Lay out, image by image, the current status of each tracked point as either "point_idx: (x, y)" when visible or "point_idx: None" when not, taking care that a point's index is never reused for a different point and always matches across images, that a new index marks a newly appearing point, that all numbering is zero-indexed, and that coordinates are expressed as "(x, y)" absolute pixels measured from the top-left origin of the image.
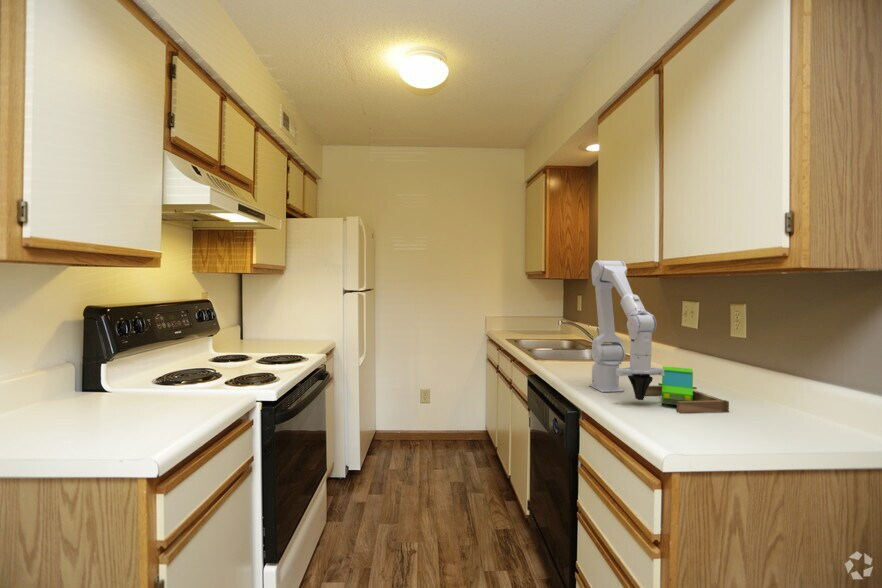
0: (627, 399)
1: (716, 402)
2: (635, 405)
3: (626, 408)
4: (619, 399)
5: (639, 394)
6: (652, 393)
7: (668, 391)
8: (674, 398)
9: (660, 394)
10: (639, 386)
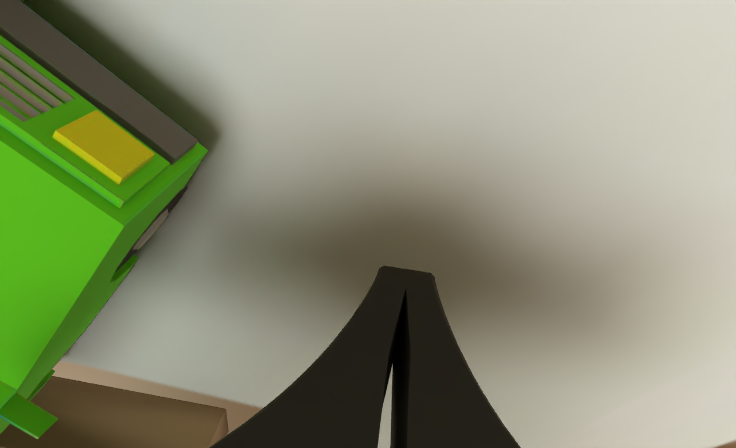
0: None
1: None
2: (488, 239)
3: (711, 174)
4: None
5: (445, 316)
6: (121, 408)
7: (23, 190)
8: (23, 68)
9: (60, 387)
10: (475, 409)
